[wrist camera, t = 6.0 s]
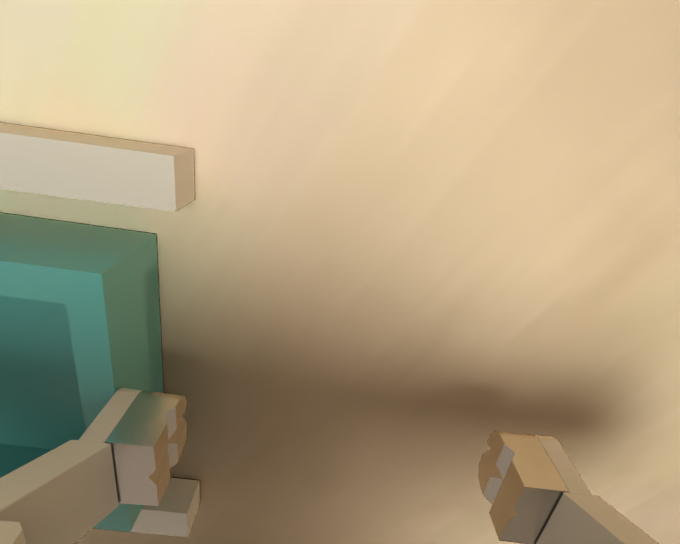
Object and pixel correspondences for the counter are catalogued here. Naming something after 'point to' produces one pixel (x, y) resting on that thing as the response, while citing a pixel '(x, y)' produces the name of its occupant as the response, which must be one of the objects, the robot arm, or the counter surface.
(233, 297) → the counter surface
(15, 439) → the teal tray
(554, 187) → the counter surface
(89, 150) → the overhang dock
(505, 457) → the robot arm
